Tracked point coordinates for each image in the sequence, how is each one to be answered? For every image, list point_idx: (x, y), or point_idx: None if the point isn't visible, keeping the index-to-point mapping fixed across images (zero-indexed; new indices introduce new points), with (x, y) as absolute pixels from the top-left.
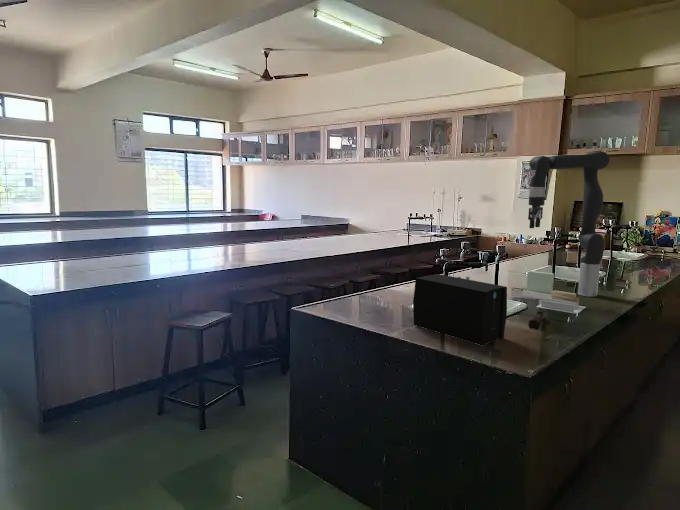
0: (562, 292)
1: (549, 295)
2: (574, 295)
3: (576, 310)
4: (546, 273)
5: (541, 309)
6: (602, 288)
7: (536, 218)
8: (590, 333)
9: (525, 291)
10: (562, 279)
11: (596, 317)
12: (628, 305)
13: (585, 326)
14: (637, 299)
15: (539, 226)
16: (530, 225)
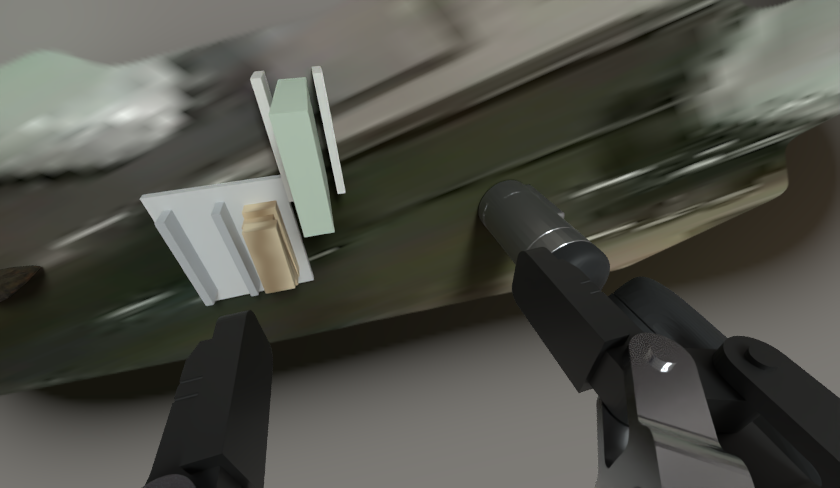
0: (267, 260)
1: (287, 193)
2: (276, 289)
3: (242, 286)
4: (307, 209)
5: (2, 294)
6: (618, 192)
7: (637, 380)
8: (72, 379)
9: (254, 92)
10: (738, 34)
11: None
12: (442, 302)
13: (122, 350)
14: None
15: (519, 303)
16: (187, 382)
